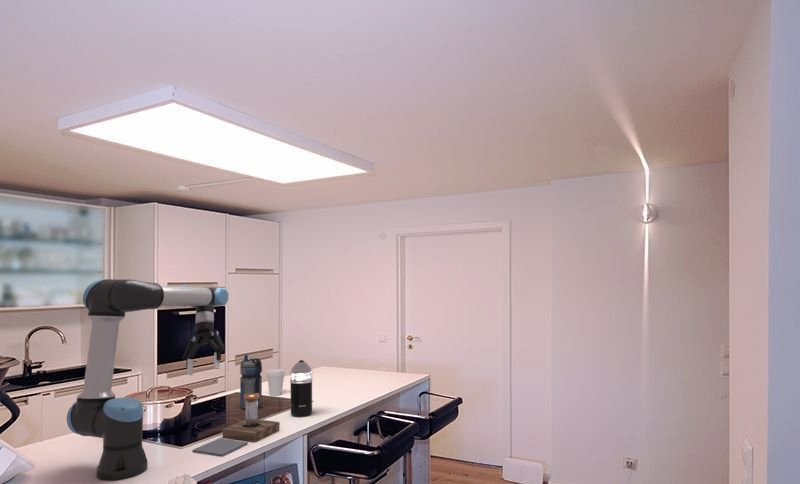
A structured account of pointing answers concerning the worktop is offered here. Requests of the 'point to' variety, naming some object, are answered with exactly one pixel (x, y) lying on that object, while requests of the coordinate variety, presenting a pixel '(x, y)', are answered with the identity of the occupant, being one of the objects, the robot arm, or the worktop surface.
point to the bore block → (251, 430)
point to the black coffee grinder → (301, 389)
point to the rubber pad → (220, 447)
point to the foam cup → (275, 381)
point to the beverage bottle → (250, 379)
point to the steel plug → (251, 409)
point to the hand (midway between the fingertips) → (203, 371)
